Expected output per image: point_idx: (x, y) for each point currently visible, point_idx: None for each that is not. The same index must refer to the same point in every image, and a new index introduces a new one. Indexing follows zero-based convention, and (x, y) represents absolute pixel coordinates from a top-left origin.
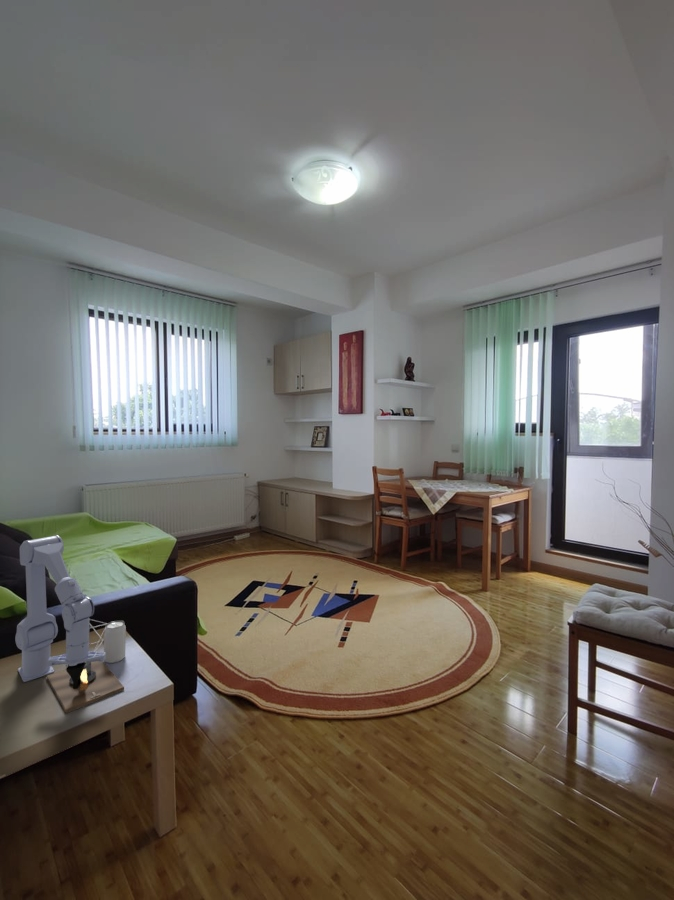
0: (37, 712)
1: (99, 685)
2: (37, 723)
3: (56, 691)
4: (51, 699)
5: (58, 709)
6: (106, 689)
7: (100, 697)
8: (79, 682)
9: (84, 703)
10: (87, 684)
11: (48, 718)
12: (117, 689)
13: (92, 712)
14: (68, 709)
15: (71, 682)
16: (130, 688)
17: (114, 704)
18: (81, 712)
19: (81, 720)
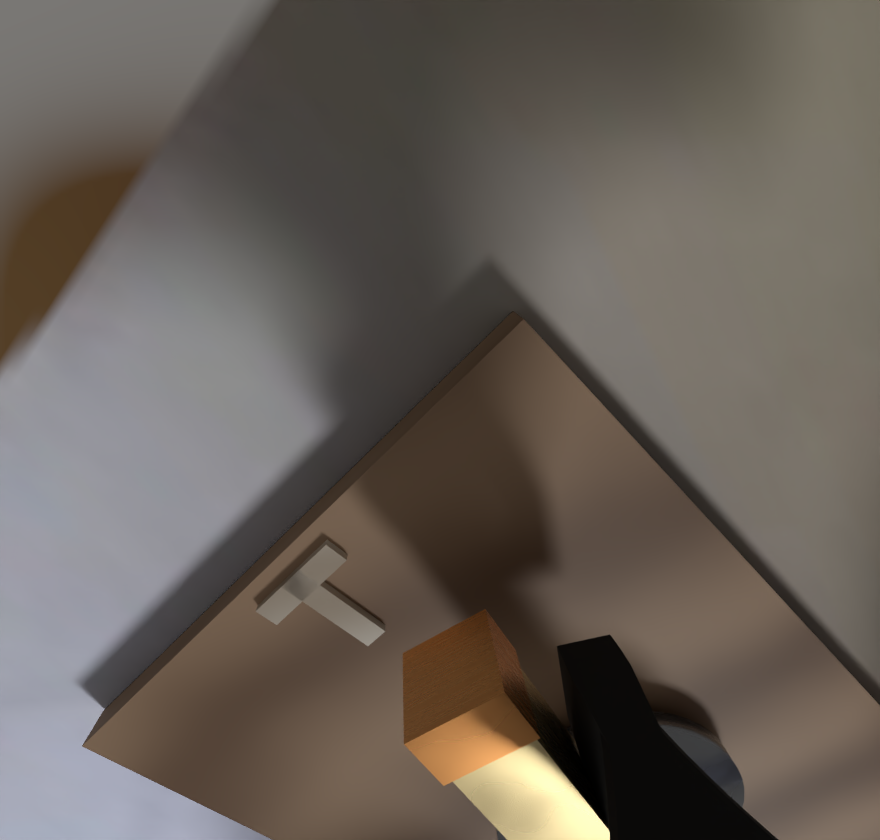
0: (856, 320)
1: (382, 736)
2: (780, 100)
3: (794, 620)
4: (788, 530)
5: (641, 381)
6: (257, 692)
7: (248, 578)
8: (579, 741)
9: (368, 465)
10: (407, 712)
11: (684, 209)
12: (124, 703)
13: (184, 341)
14: (500, 336)
15: (699, 742)
16: (52, 735)
17: (14, 496)
18: (330, 337)
19: (218, 170)
